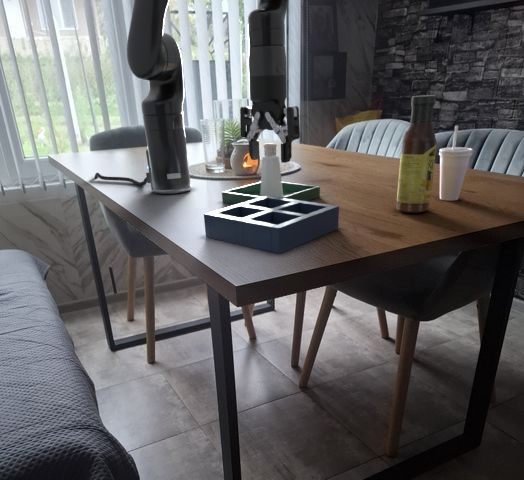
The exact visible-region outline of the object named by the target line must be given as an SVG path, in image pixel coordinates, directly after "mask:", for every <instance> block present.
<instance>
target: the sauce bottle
mask: <svg viewBox="0 0 524 480" xmlns="http://www.w3.org/2000/svg"><path fill="white" fill-rule="evenodd" d="M410 102H411V103H410V105H411V115H410V120H409V122H410V124H409V126H408V128H407V130H406V131H405V133H404V135H403V136H402V141H401V153H400V156H399V169H398V180H397V181H398V182H397V190H396V191H397V192H396V210H397V211H398V212H401V213H404V214H405V213H407V214H419V213H424V212H427V211H428V210H429V207H430V202H431V198H432V197H431V196H432V189H433V180H434V172H435V165H436V154H437V145H438V143H437V137H436V135H435V134H436V133H435V129H434V122H433V117H434V109H435V108H434V107H435V105H436V95H435V94H433V95H431V94H430V95H413V96H411V101H410Z"/></svg>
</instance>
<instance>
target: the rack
mask: <svg viewBox="0 0 524 480" xmlns="http://www.w3.org/2000/svg"><path fill="white" fill-rule="evenodd" d="M339 217H340V206H339V205H333V204H329V203H320V202H314V201H300V200H293V199H286V198H279V197H272V196H264V197H260V198H257V199H253V200H250V201H246V202H243V203H240V204H236V205H235V204H232V205H230V206H227V207H223V208H219V209H215V210H212V211H209V212H206V213H203V220H204V221H203V222H204V231H205V237H206V238H210V239H214V240H217V241H221V242H226V243H231V244H235V245H240V246H243V247H248V248H251V249H256V250H261V251H264V252H268V253H269V252H270V253H272V254H273V253H274V254H279V255H280V254H283V253H285V252H287V251H289V250H293V249H294V248H297V247H298V246H301V245H304V244H306V243H308V242H311V241H313V240H316V239H318V238H321V237H323V236H325V235H328V234H330V233H332V232H334V231H337V230H339Z"/></svg>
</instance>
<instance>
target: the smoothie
mask: <svg viewBox="0 0 524 480" xmlns="http://www.w3.org/2000/svg"><path fill="white" fill-rule="evenodd" d="M458 132H459V125H455V126H454V133H453V139H452V146H449V147H441V148H440V149H439V151H438V155H439V199H440V200H441V201H448V202H451V201H453V202H454V201H458V200H459V198H460V194H461V191H462V188H463V183H464V180H465V177H466V173H467V170H468V166H469V162H470V158H471V156H473V151H474V149H473V148H471V147H462V146H456V145H457V138H458Z"/></svg>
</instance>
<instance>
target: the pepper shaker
mask: <svg viewBox="0 0 524 480" xmlns="http://www.w3.org/2000/svg"><path fill="white" fill-rule="evenodd" d="M277 147H278V144H277V143H275V142H273V143H272V142H268V143H263V151H264V155H263V156H262V157H261V171H260V182H261V188H260V197H264V196H272V197H279V198H280V197H283V189H282V182H283V180H282V172H281V163H280V162H281V161H280V157H279V155H277Z"/></svg>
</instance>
